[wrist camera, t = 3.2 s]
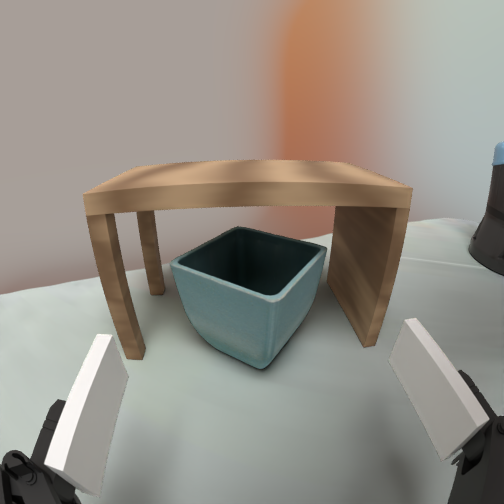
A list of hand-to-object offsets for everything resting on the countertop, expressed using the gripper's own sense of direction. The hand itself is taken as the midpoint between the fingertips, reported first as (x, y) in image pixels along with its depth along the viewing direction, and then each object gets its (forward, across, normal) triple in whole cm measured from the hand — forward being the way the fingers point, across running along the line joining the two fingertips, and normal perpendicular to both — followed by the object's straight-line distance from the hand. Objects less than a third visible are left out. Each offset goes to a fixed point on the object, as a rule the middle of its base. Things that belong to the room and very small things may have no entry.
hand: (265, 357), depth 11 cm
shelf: (+14, 0, -9) cm, 17 cm away
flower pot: (+10, 0, -9) cm, 14 cm away
